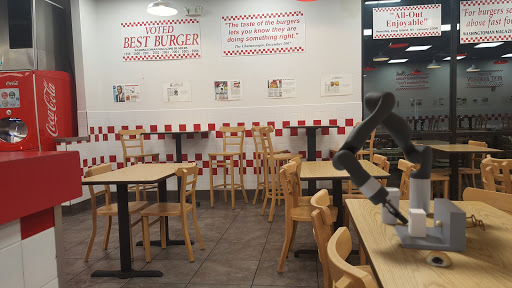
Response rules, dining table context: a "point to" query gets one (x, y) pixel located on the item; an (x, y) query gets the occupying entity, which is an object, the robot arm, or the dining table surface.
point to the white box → (417, 223)
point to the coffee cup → (395, 198)
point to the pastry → (438, 259)
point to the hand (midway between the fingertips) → (406, 223)
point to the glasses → (476, 223)
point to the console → (439, 229)
